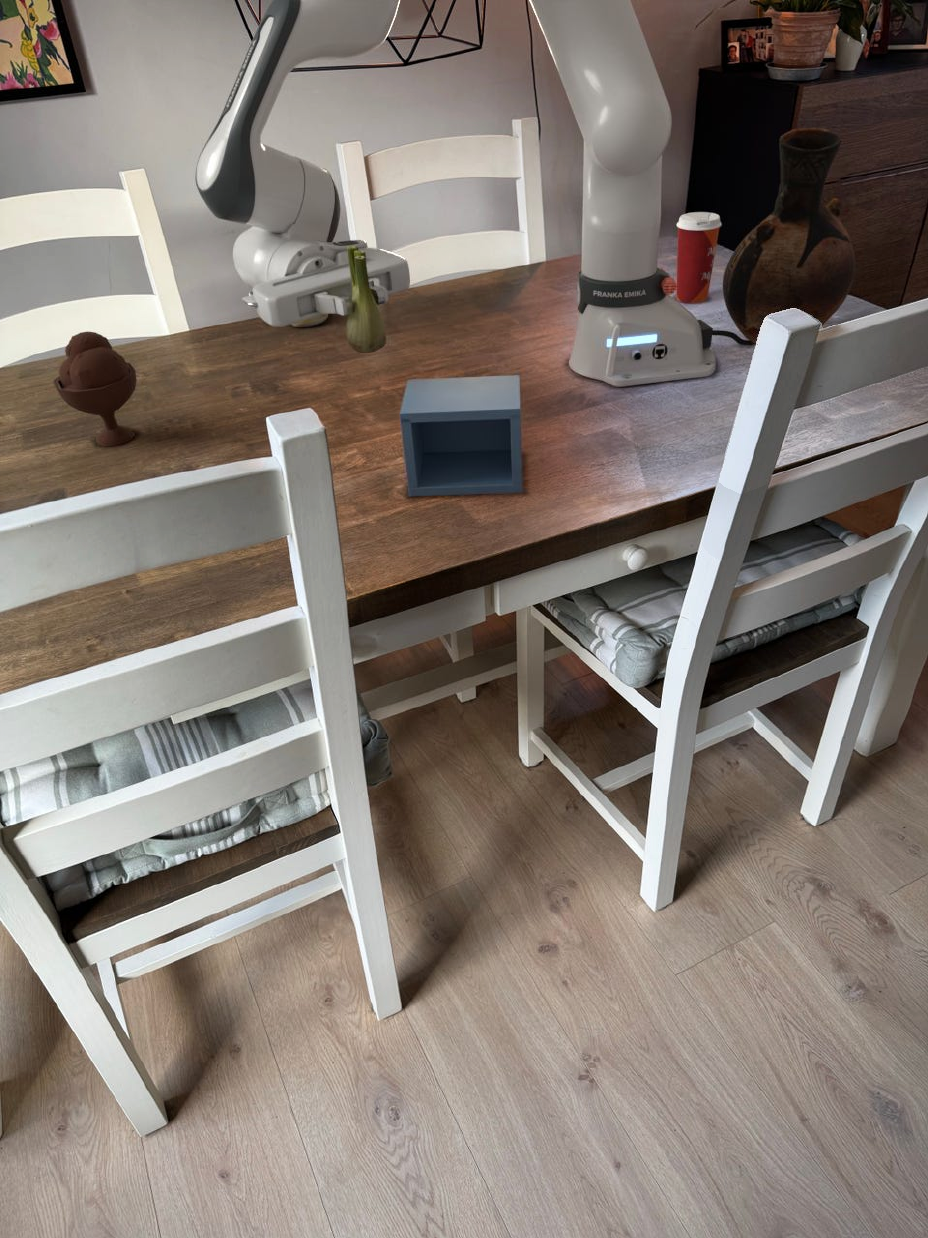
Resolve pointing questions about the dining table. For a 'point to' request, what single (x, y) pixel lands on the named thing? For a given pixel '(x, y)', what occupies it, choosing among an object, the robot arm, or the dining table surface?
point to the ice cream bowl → (97, 383)
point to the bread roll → (311, 321)
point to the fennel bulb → (363, 308)
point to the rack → (462, 435)
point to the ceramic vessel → (793, 243)
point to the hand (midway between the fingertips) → (366, 301)
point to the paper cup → (696, 255)
